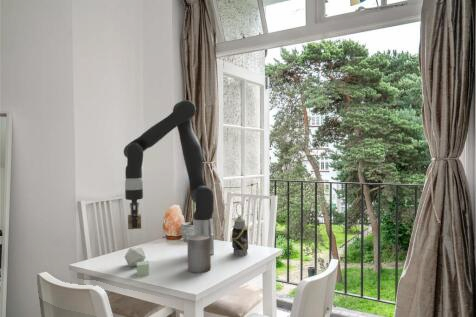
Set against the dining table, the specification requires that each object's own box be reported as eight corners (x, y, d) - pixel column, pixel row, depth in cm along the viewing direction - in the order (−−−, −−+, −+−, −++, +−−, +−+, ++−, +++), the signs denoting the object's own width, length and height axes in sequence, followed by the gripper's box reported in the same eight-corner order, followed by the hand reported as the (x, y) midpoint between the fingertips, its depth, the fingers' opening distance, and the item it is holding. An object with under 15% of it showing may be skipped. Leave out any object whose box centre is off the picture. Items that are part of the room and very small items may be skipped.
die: (134, 271, 150) (147, 251, 153) (118, 260, 151) (131, 241, 154) (139, 272, 157) (151, 253, 160) (123, 262, 159) (136, 243, 162)
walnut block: (141, 226, 159) (140, 214, 159) (141, 228, 154) (140, 215, 154) (128, 227, 158) (128, 214, 158) (128, 229, 152) (127, 216, 152)
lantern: (251, 254, 169) (250, 202, 169) (237, 257, 166) (236, 204, 165) (242, 250, 177) (241, 200, 177) (228, 252, 173) (227, 202, 173)
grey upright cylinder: (205, 264, 155) (204, 230, 155) (214, 270, 147) (213, 234, 146) (184, 268, 151) (183, 233, 151) (192, 274, 142) (191, 237, 142)
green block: (148, 271, 147) (148, 261, 147) (148, 275, 143) (148, 264, 143) (137, 272, 146) (137, 262, 146) (137, 276, 141) (137, 265, 141)
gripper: (143, 189, 150) (143, 228, 150) (142, 186, 164) (143, 223, 164) (124, 190, 148) (125, 230, 148) (125, 187, 162) (126, 224, 162)
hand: (134, 226), depth 156 cm, fingers closed on walnut block, 5 cm apart
